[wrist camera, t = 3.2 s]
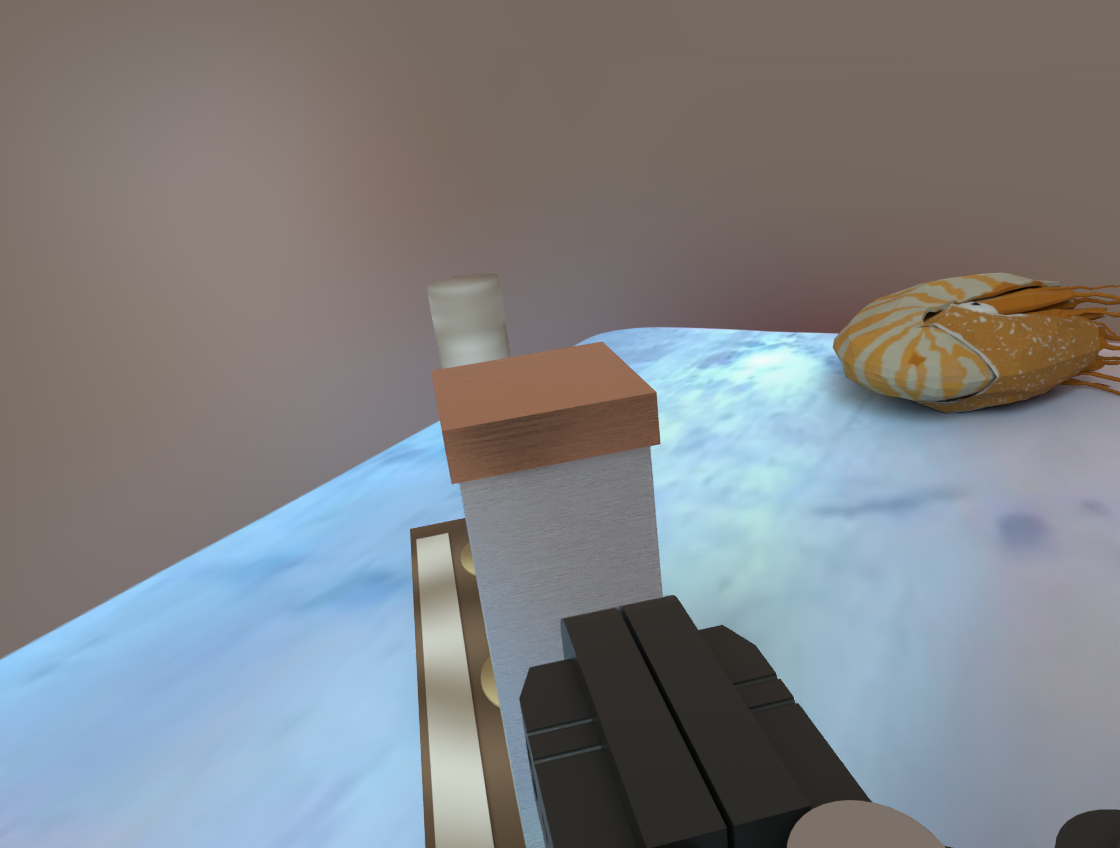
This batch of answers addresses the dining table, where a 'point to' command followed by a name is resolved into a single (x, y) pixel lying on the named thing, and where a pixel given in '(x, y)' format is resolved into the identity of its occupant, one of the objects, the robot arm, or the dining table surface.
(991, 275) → the nautilus
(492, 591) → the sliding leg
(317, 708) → the dining table surface
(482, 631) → the wooden base plate
